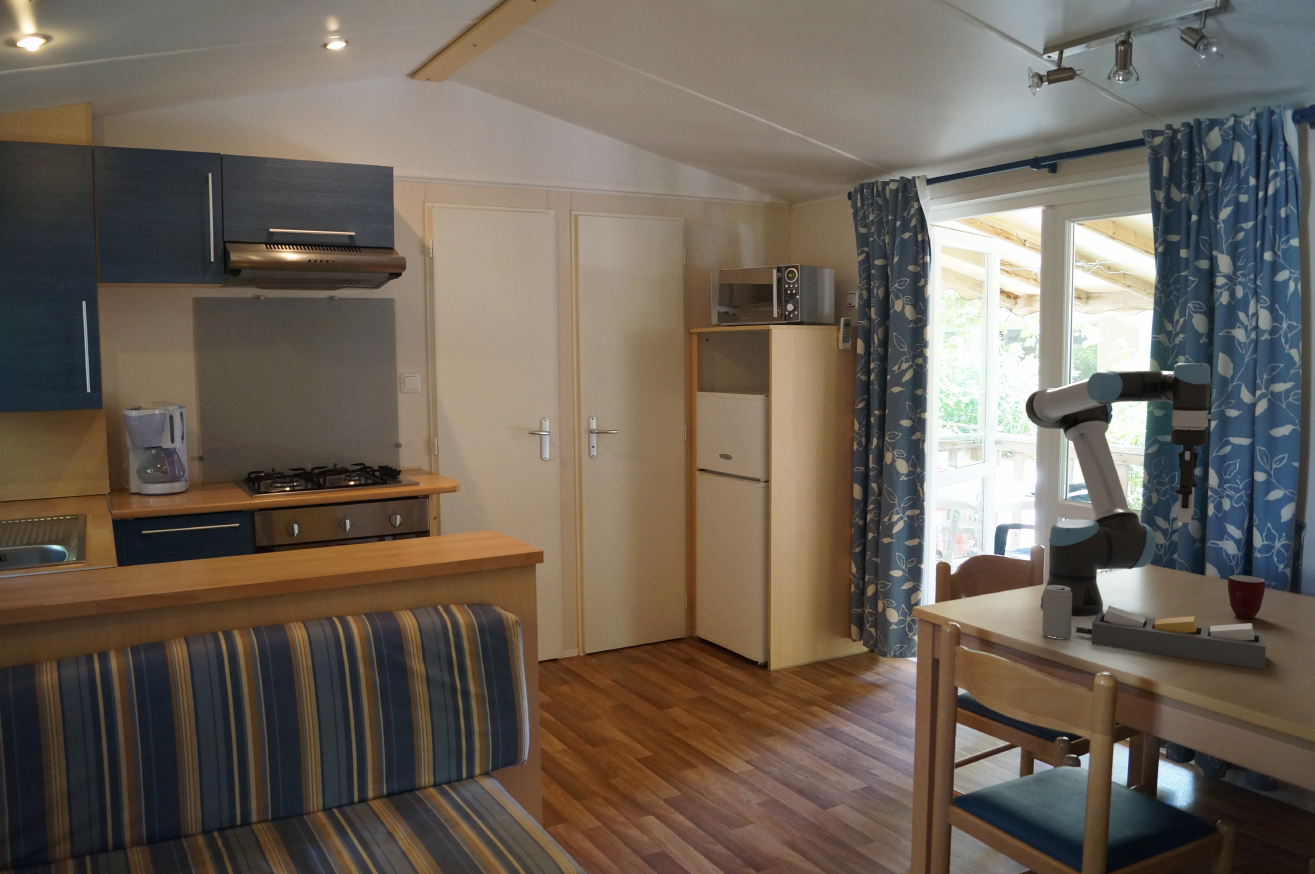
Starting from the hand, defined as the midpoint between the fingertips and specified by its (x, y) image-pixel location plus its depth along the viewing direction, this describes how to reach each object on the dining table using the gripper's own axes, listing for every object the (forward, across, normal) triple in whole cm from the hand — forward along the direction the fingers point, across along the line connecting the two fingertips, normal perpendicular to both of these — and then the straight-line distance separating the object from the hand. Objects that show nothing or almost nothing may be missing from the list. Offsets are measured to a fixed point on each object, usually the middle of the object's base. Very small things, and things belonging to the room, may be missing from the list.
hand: (1185, 518), depth 224 cm
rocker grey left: (+24, -14, +11) cm, 30 cm away
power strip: (+28, -14, +2) cm, 32 cm away
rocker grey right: (+24, -14, -11) cm, 30 cm away
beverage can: (+29, -17, +25) cm, 42 cm away
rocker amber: (+24, -14, 0) cm, 28 cm away
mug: (+29, +24, -13) cm, 40 cm away
